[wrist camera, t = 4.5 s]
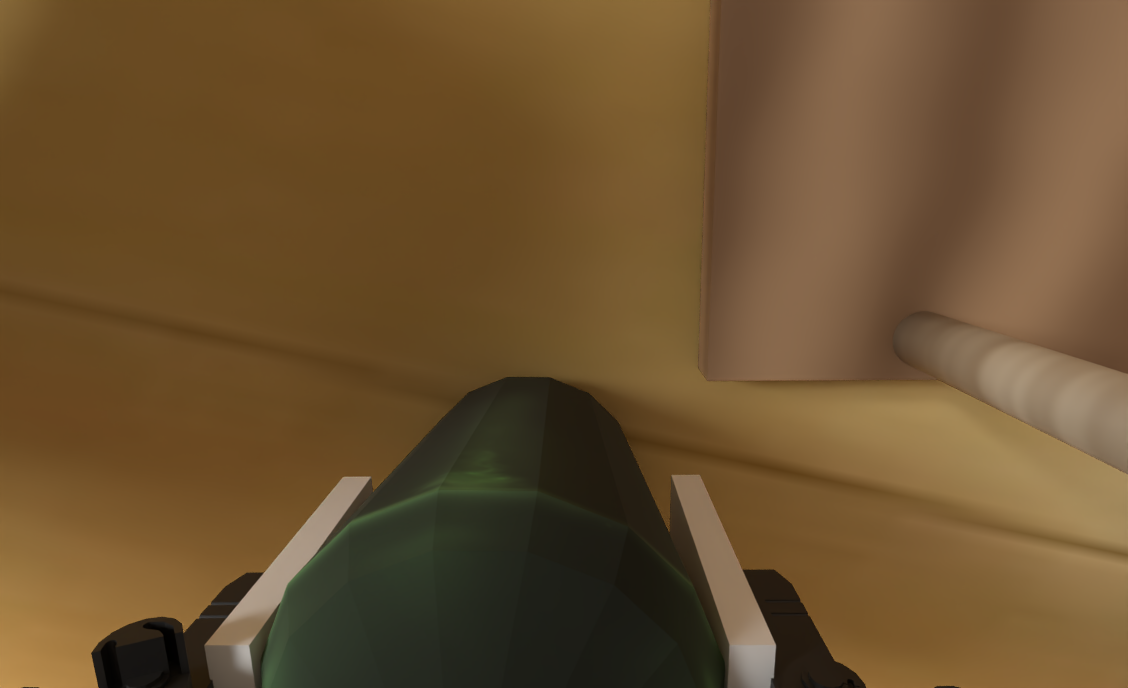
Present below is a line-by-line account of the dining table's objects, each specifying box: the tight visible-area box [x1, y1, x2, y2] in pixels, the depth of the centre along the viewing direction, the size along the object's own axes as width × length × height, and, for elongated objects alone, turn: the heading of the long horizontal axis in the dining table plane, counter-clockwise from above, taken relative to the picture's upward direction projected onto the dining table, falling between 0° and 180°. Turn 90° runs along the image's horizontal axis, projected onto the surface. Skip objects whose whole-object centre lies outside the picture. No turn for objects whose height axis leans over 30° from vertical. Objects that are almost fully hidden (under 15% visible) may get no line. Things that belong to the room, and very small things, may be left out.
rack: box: [698, 0, 1128, 474], centre depth 13 cm, size 12×15×10 cm
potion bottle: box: [261, 377, 725, 688], centre depth 12 cm, size 8×8×18 cm
